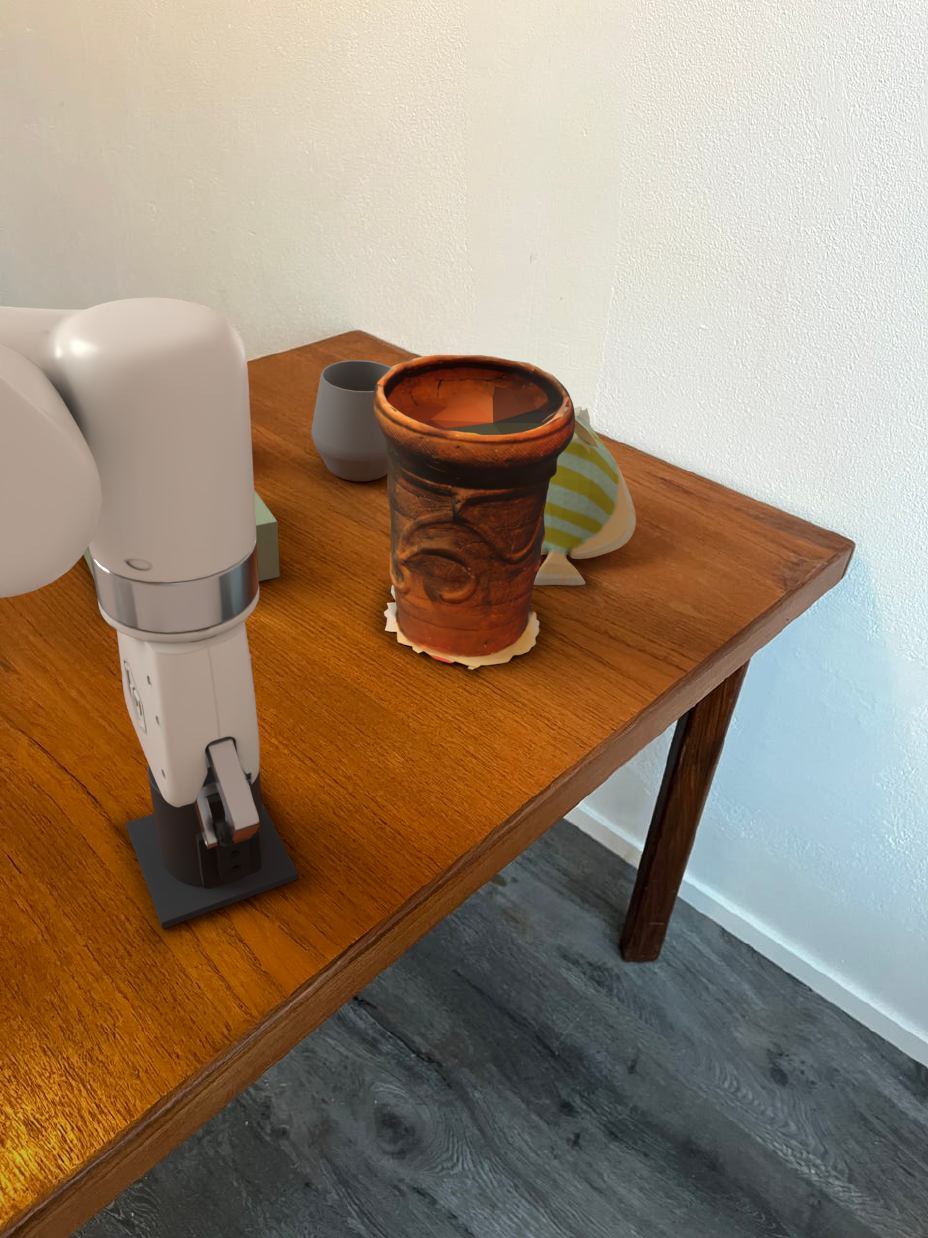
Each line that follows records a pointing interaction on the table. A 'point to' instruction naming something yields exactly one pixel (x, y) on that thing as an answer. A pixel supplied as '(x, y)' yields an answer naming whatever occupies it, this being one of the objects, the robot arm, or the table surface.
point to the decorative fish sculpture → (584, 506)
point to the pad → (192, 901)
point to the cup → (350, 421)
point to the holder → (189, 829)
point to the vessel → (468, 500)
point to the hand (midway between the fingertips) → (205, 815)
